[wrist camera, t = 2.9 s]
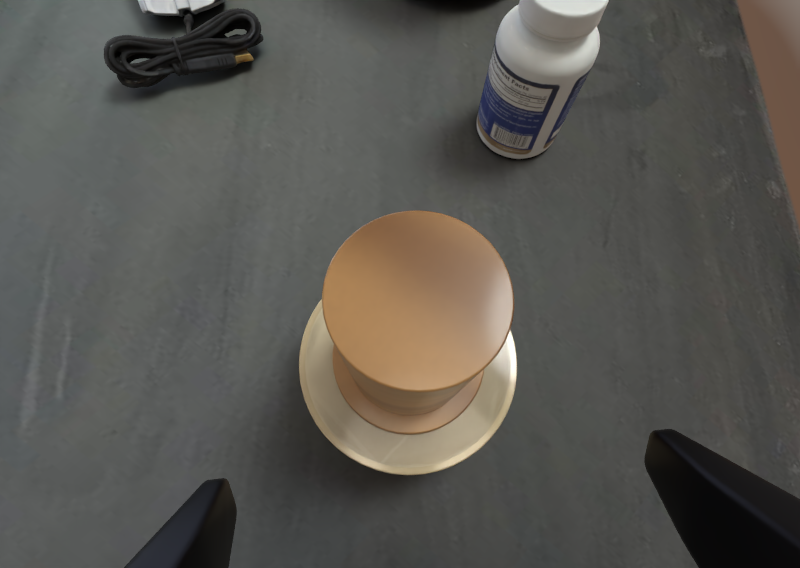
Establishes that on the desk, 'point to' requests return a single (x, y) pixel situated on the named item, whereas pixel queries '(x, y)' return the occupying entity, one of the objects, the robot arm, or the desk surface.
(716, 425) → the desk surface
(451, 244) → the flanged wooden cylinder
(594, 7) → the pill bottle
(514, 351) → the cream ceramic pot
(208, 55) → the computer mouse
